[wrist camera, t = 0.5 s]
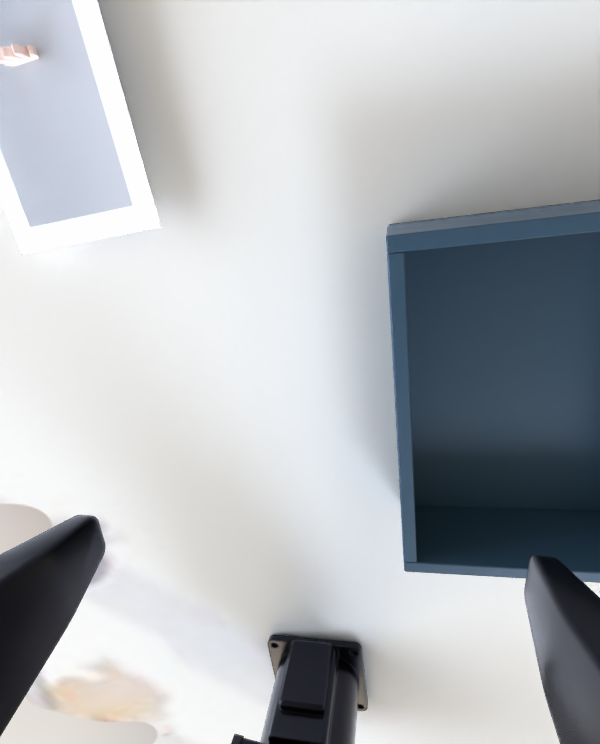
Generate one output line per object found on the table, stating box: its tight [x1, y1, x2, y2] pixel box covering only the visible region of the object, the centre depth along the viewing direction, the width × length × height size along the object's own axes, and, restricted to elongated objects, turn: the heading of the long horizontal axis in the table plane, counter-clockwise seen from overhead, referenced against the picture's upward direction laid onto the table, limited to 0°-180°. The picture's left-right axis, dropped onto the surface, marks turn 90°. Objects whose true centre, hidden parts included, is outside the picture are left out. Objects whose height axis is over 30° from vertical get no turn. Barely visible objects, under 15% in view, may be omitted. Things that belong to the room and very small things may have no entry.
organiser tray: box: [386, 200, 600, 583], centre depth 19 cm, size 15×11×5 cm
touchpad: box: [0, 0, 161, 255], centre depth 18 cm, size 8×15×2 cm, turn 11°
